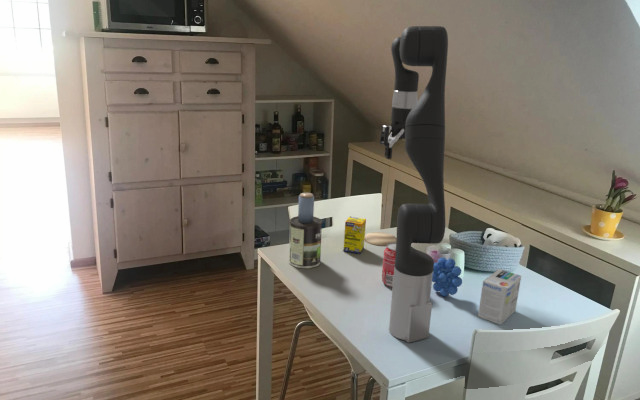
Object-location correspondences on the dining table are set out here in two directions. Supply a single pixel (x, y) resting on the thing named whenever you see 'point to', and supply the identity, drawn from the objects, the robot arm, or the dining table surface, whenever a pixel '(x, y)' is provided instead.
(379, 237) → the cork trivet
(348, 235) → the supplement box
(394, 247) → the soda can
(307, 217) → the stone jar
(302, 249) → the coffee can
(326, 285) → the dining table surface
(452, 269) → the grapes
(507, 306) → the light bulb box
